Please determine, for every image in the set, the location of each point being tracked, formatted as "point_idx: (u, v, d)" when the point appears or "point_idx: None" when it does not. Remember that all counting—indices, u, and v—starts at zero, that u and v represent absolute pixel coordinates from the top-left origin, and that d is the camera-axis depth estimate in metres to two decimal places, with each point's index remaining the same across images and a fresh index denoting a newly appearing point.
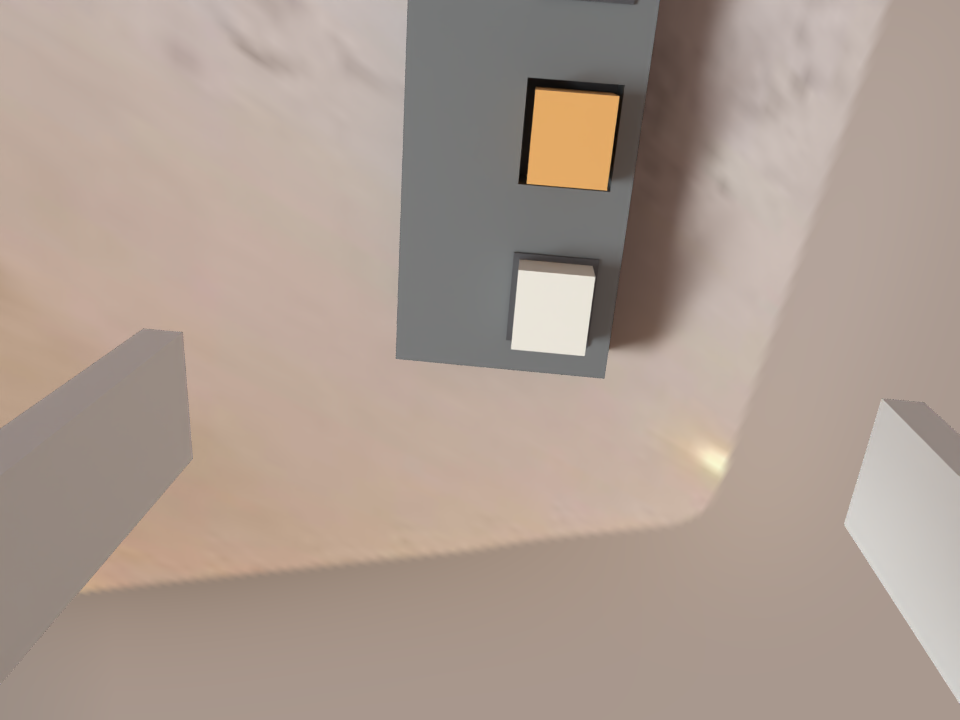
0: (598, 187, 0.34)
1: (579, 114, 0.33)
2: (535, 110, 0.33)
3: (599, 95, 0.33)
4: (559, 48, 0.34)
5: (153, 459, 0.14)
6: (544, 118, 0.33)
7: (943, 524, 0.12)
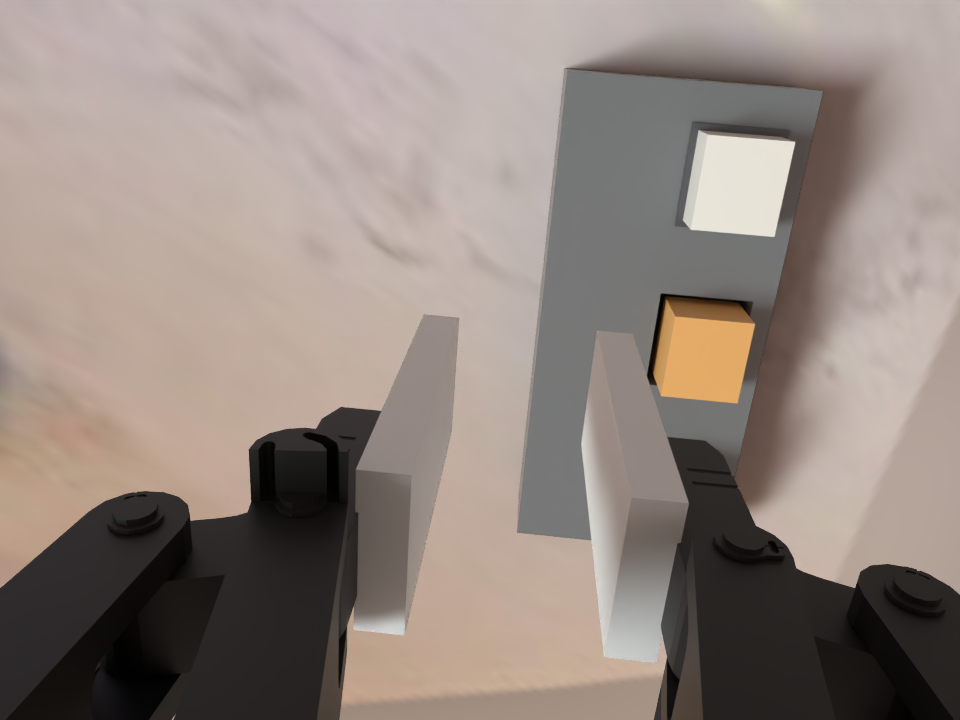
0: (729, 400, 0.36)
1: (716, 338, 0.35)
2: (674, 334, 0.35)
3: (735, 322, 0.35)
4: (692, 269, 0.36)
5: (445, 428, 0.15)
6: (682, 340, 0.35)
7: (602, 424, 0.14)
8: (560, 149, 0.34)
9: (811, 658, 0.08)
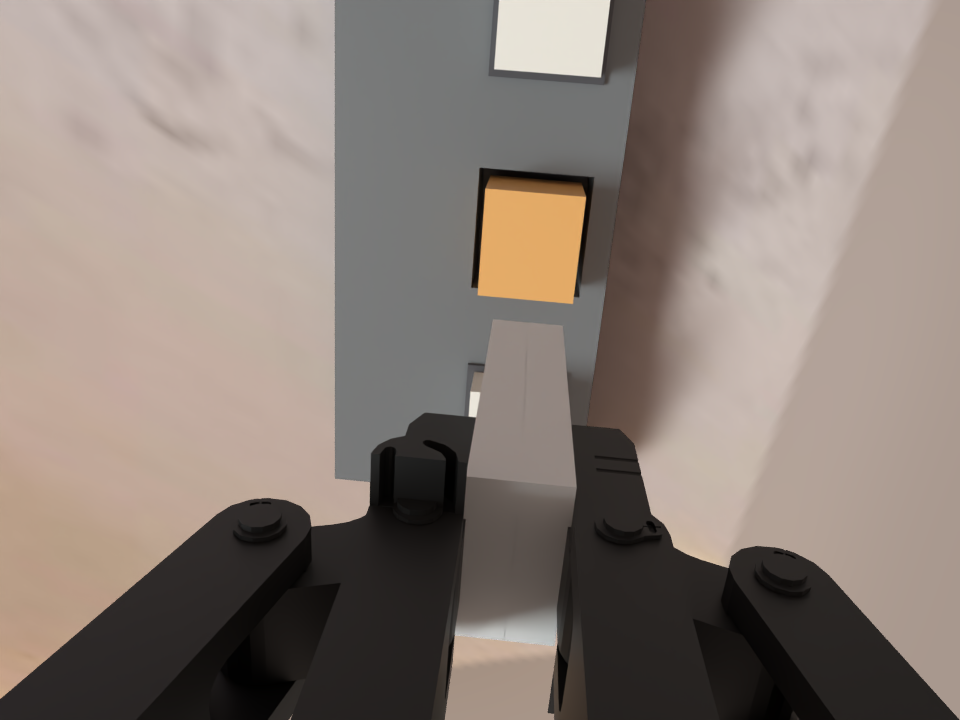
0: (562, 300, 0.29)
1: (539, 217, 0.28)
2: (485, 212, 0.28)
3: (562, 195, 0.27)
4: (515, 135, 0.29)
5: None
6: (497, 221, 0.28)
7: None
8: None
9: (688, 634, 0.08)
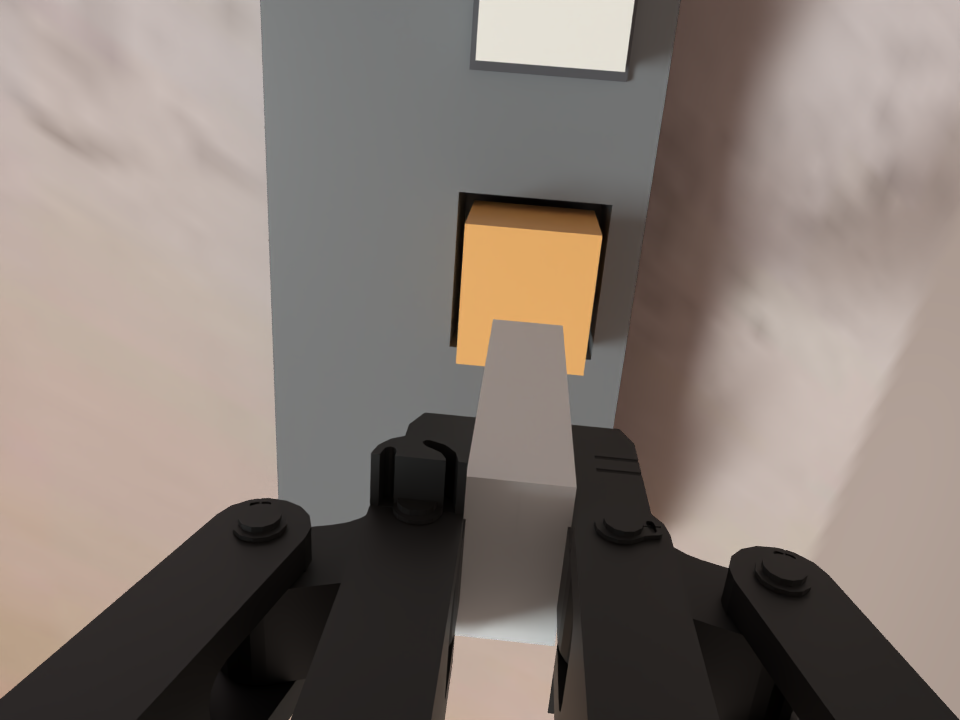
0: (569, 370, 0.21)
1: (538, 262, 0.20)
2: (466, 255, 0.20)
3: (569, 233, 0.20)
4: (506, 148, 0.21)
5: None
6: (481, 267, 0.20)
7: None
8: None
9: (688, 633, 0.08)
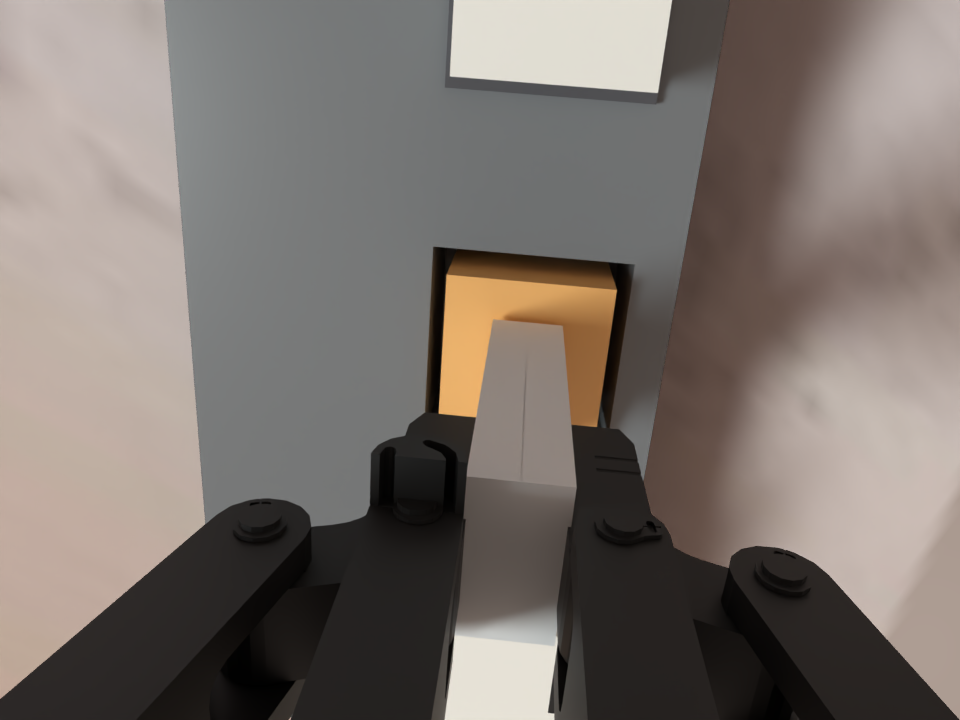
0: None
1: (537, 321, 0.16)
2: (448, 313, 0.16)
3: (576, 286, 0.16)
4: (495, 191, 0.16)
5: None
6: (467, 327, 0.17)
7: None
8: None
9: (688, 633, 0.08)
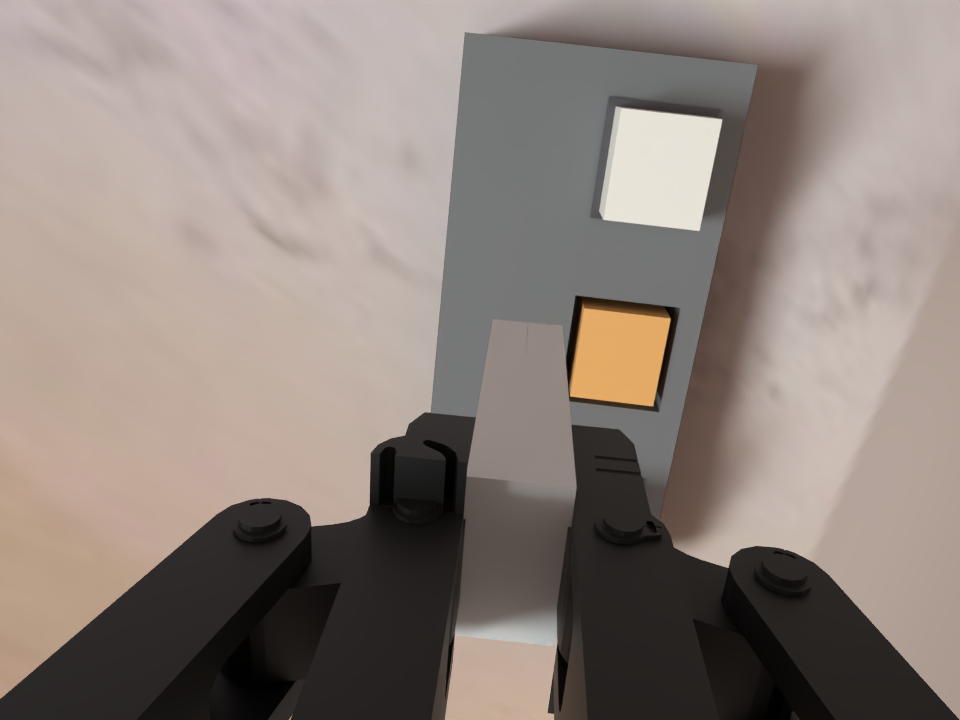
0: (644, 403, 0.33)
1: (628, 333, 0.32)
2: (583, 327, 0.32)
3: (649, 316, 0.32)
4: (610, 268, 0.31)
5: None
6: (592, 335, 0.32)
7: None
8: (458, 124, 0.30)
9: (688, 633, 0.08)
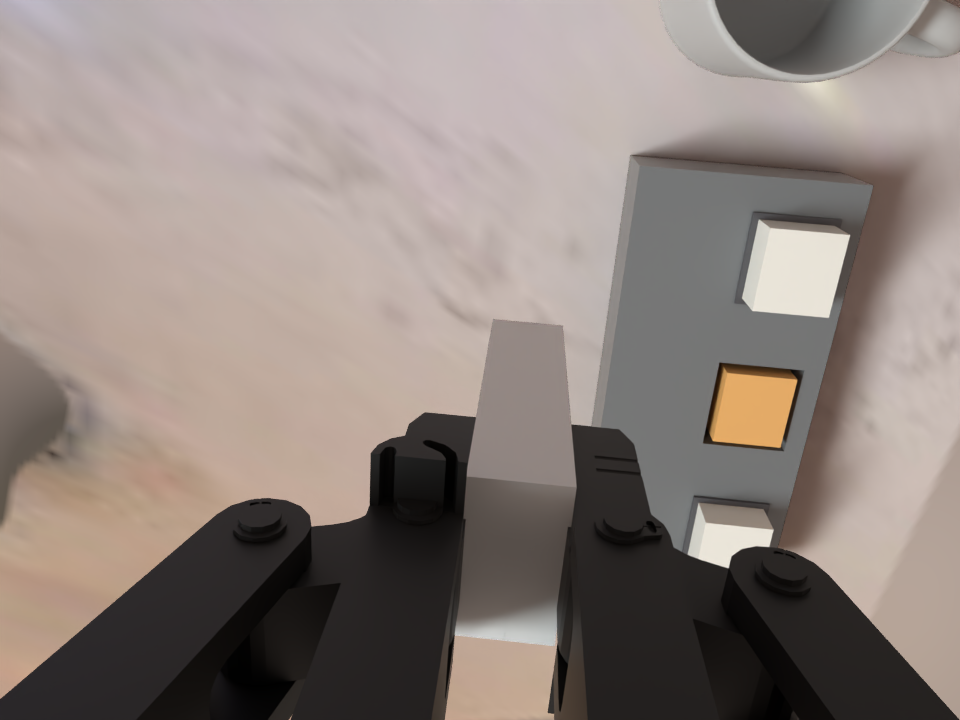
0: (773, 445, 0.41)
1: (762, 391, 0.40)
2: (725, 388, 0.40)
3: (780, 378, 0.40)
4: (749, 341, 0.39)
5: None
6: (732, 394, 0.40)
7: None
8: (631, 234, 0.38)
9: (688, 633, 0.08)
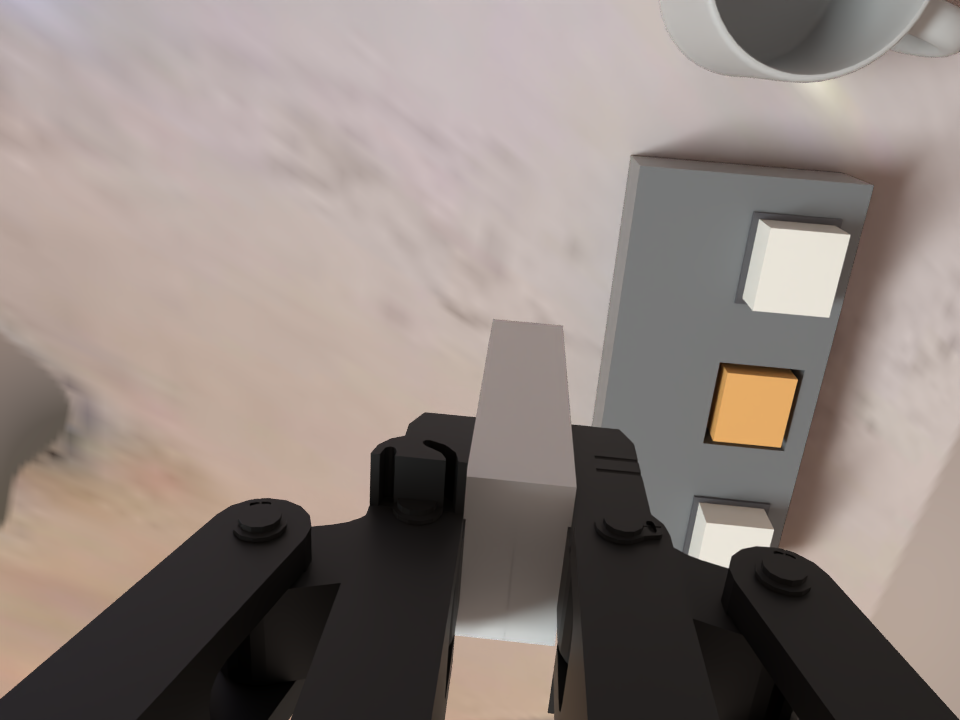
0: (773, 445, 0.41)
1: (763, 391, 0.40)
2: (726, 388, 0.40)
3: (780, 377, 0.40)
4: (749, 341, 0.39)
5: None
6: (733, 393, 0.40)
7: None
8: (631, 234, 0.38)
9: (688, 633, 0.08)
